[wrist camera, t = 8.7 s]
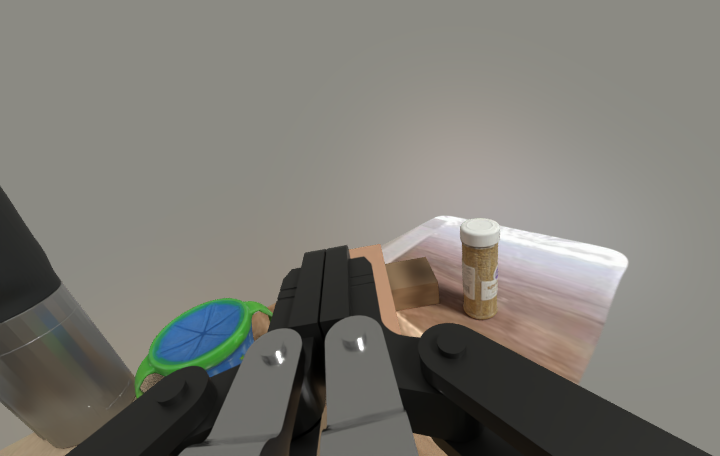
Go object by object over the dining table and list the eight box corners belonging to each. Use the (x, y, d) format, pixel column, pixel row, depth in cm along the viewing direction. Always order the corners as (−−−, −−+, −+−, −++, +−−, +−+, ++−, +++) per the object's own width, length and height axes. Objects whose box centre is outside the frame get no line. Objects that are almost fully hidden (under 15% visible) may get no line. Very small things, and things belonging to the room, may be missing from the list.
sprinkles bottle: (499, 321, 39) (503, 233, 33) (463, 319, 40) (460, 234, 34) (495, 298, 42) (497, 215, 37) (462, 297, 44) (459, 217, 38)
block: (364, 429, 30) (340, 345, 24) (358, 318, 44) (342, 250, 39) (414, 420, 29) (401, 335, 24) (391, 312, 44) (380, 243, 39)
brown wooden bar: (322, 323, 44) (316, 303, 42) (325, 294, 51) (319, 275, 49) (439, 303, 44) (437, 281, 42) (427, 276, 50) (425, 256, 48)
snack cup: (276, 331, 45) (254, 277, 40) (305, 376, 36) (281, 315, 32) (163, 396, 38) (122, 339, 33) (167, 471, 29) (112, 409, 25)
